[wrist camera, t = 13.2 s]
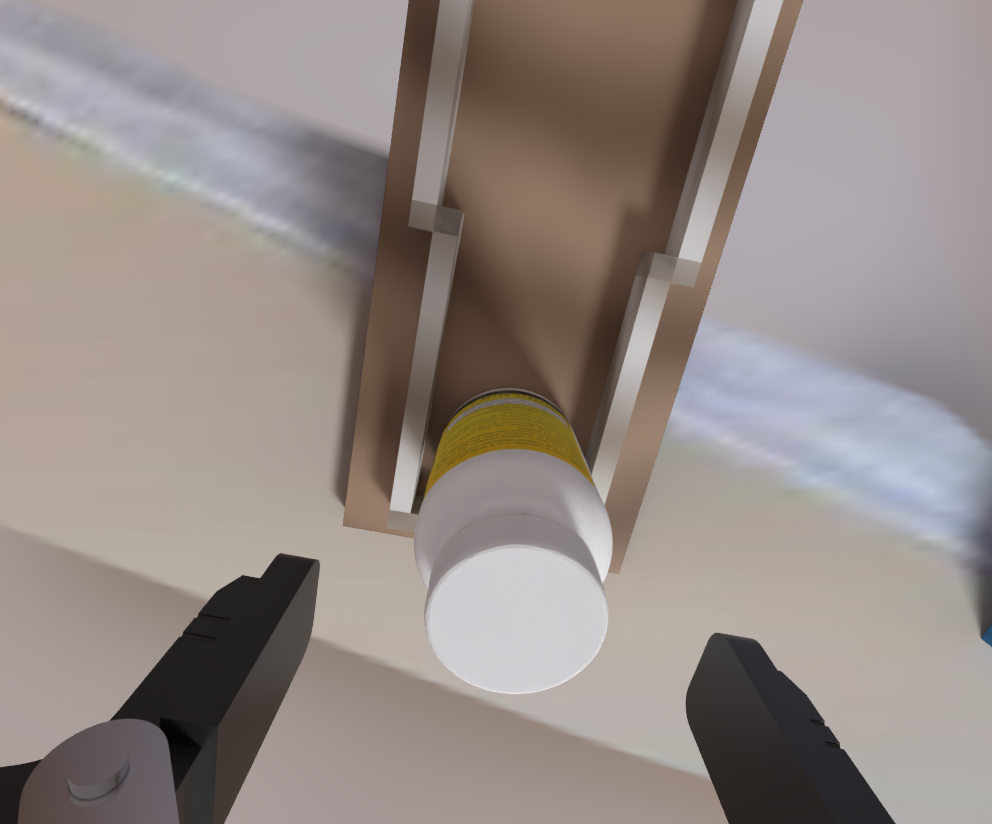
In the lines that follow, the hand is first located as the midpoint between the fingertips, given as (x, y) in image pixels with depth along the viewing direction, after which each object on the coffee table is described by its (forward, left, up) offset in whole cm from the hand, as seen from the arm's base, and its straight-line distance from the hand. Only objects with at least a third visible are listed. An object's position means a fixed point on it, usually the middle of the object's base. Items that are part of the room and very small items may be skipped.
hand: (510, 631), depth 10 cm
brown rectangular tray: (-6, 0, -11) cm, 13 cm away
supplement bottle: (0, 0, -11) cm, 11 cm away
